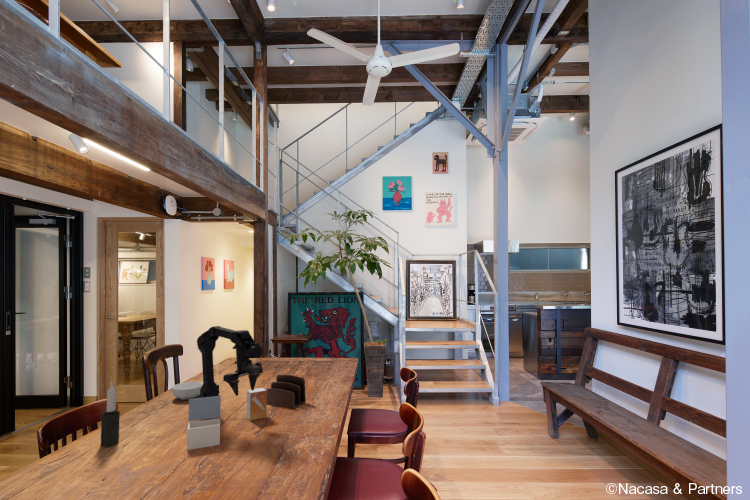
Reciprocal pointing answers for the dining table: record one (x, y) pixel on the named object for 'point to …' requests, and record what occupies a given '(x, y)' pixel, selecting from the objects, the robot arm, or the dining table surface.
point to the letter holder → (287, 391)
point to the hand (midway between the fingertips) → (245, 392)
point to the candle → (110, 421)
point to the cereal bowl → (187, 390)
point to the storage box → (203, 434)
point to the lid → (204, 408)
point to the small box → (256, 403)
